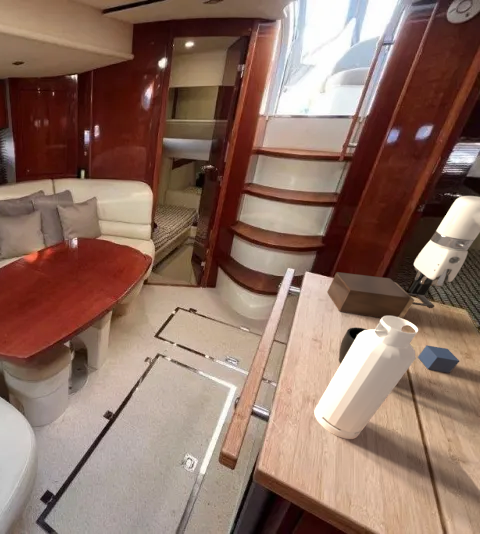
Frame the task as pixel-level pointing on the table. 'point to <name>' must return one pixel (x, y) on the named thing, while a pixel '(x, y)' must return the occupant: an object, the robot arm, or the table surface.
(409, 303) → the drawer
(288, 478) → the table surface
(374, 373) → the bottle
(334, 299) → the cabinet
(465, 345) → the table surface
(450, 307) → the table surface
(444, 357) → the block
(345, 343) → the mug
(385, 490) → the table surface
